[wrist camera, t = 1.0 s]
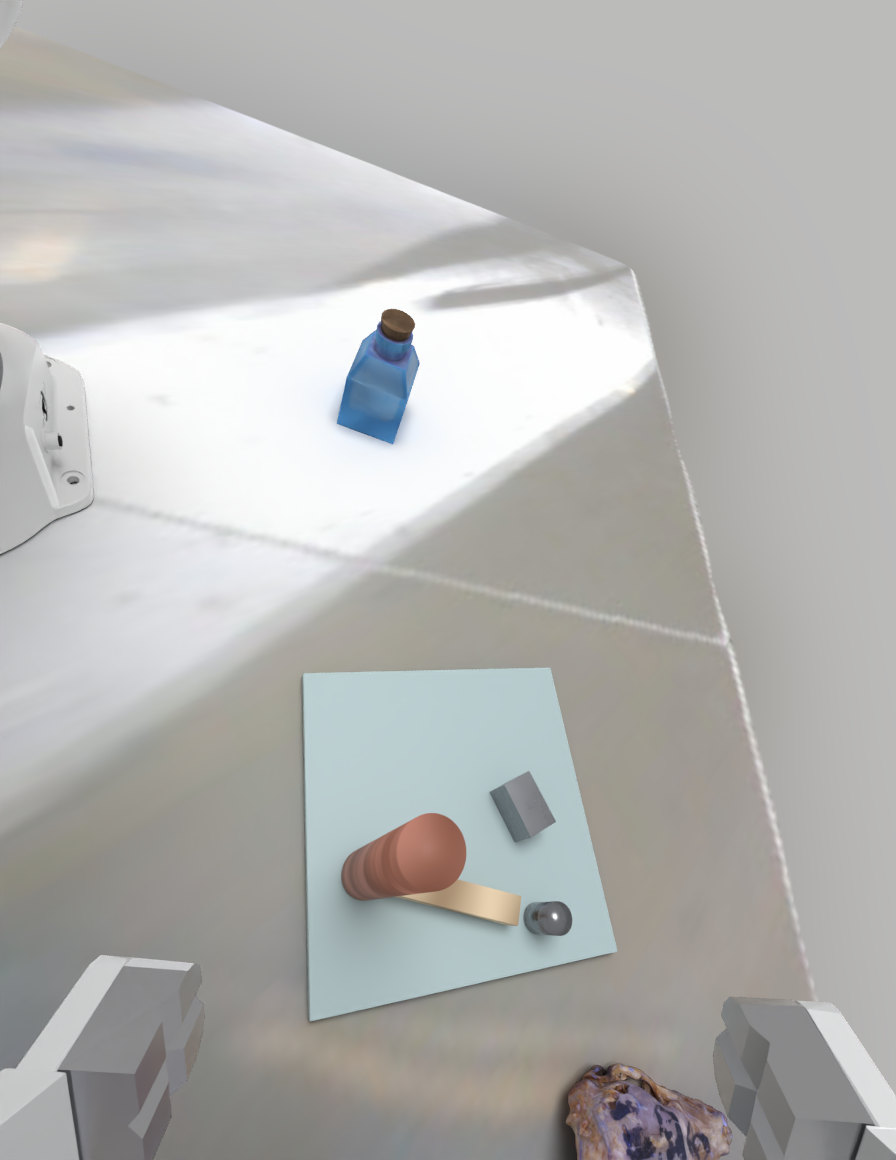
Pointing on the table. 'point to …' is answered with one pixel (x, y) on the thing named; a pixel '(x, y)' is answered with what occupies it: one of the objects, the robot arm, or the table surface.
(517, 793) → the block
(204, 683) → the table surface
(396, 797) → the board
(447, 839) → the brown piece
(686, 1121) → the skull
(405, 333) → the perfume bottle
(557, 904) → the hinge pin
